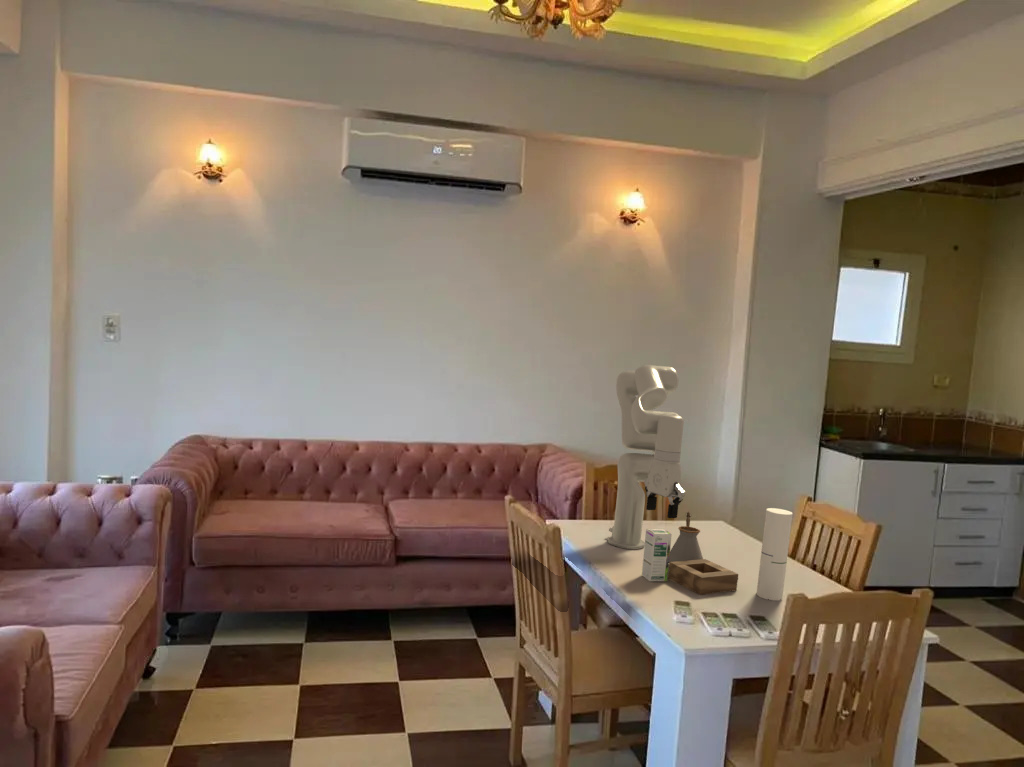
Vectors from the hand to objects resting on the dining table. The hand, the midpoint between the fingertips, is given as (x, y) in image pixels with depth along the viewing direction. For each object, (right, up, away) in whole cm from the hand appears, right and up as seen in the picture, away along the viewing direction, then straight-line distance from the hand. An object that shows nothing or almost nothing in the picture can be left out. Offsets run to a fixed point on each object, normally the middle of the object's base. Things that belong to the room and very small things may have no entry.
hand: (661, 513), depth 224 cm
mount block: (+12, -21, 0) cm, 24 cm away
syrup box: (-2, -20, +2) cm, 20 cm away
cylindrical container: (+30, -23, -4) cm, 38 cm away
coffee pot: (+11, -20, +19) cm, 30 cm away
